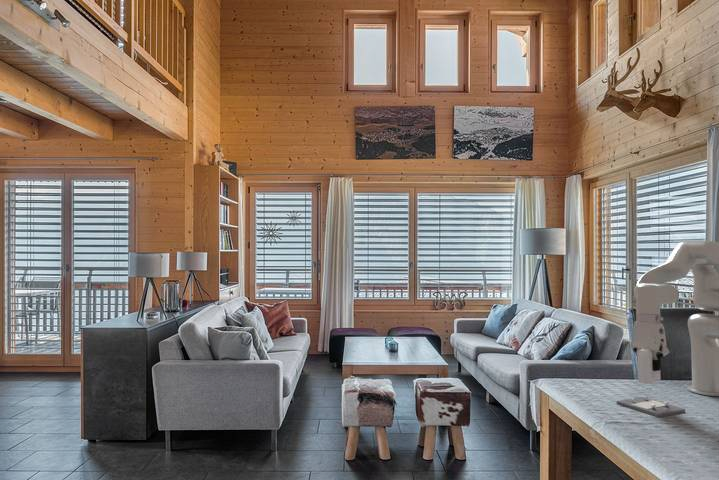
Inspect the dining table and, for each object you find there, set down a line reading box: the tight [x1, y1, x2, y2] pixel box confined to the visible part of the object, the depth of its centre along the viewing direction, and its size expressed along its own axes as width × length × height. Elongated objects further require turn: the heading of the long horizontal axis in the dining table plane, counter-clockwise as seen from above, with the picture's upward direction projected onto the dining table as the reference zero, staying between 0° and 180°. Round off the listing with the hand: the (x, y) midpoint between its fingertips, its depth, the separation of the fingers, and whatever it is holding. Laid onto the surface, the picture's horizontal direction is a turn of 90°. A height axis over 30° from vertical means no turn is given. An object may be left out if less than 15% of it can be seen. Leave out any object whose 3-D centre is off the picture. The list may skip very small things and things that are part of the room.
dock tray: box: [616, 396, 686, 418], centre depth 171 cm, size 14×16×2 cm
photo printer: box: [636, 348, 662, 384], centre depth 172 cm, size 10×4×12 cm, turn 123°
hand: (649, 368), depth 172 cm, fingers closed on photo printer, 4 cm apart
